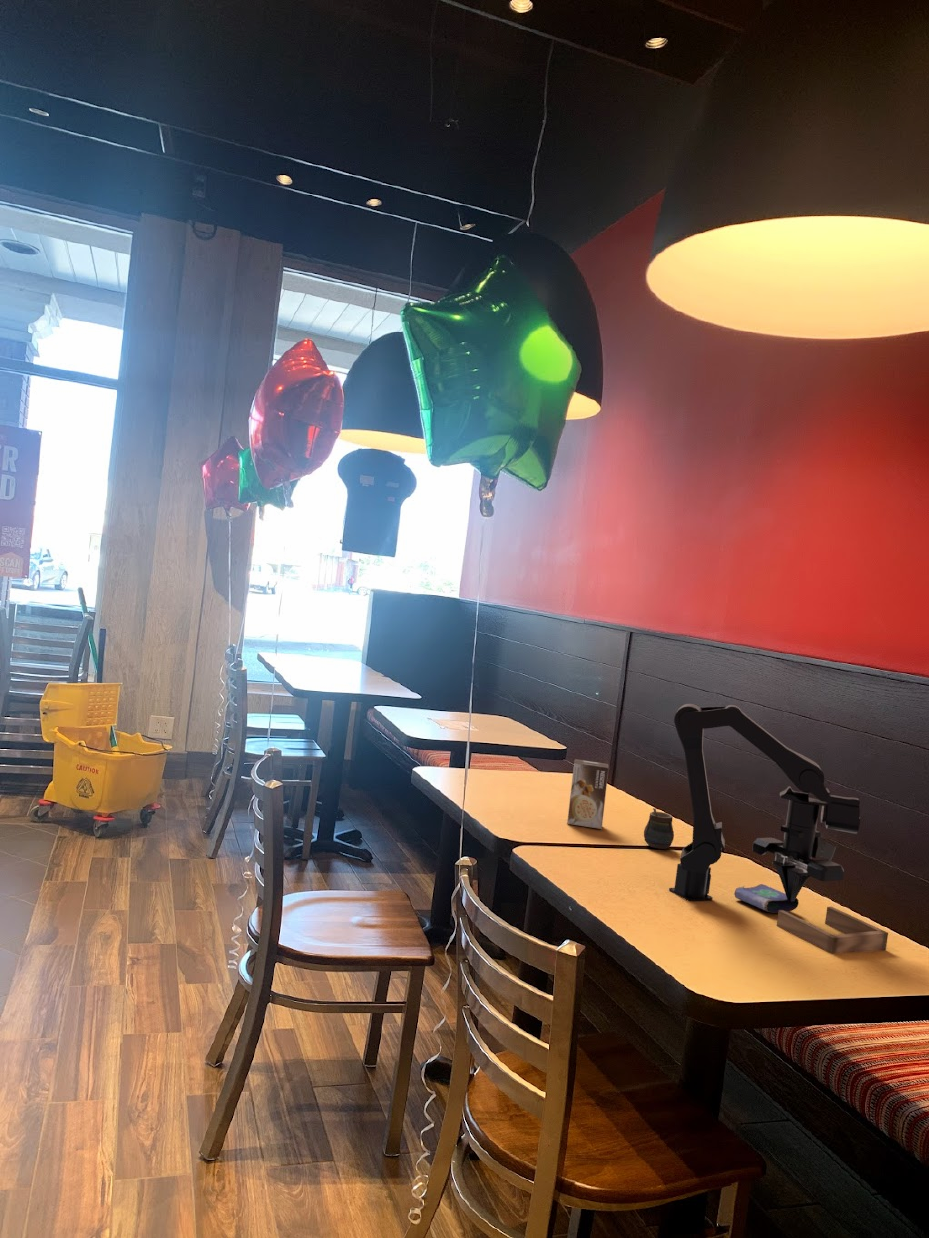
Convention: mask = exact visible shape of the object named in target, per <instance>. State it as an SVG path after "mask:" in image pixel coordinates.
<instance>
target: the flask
mask: <svg viewBox="0 0 929 1238" xmlns="http://www.w3.org/2000/svg"><path fill="white" fill-rule="evenodd" d="M733 895H734V897H735V898H736V899H737V900H740V901H743V902H745V903H747V904H749V905H751V906H754V907H756V908H758V909H760V910H762V911H765V912H767V913H772V914H778V911H779V910H784V911H786V912H788V913H790V912H793V911H794V910H796V909H797V908H798V907H799V899H798V898H797V897H796V899H795V901H789V900H787V897H786V894H785V892H783V891H780V890H778V889H775V888H773V887H770V886H768V885H765V884H763V883H761V884H758V885H756V886H753V887H745V885H742V886H740V887H737V888H735V890H734V893H733Z"/></svg>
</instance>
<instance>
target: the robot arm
mask: <svg viewBox="0 0 929 1238" xmlns="http://www.w3.org/2000/svg"><path fill="white" fill-rule="evenodd" d="M673 723H674V726H675V730H676V732H677V735H678V738H679V742H680V743H681V746H682V749H683V752H684V758H685V765H686V774H687V780H688V788H689V792H690V793H689V794H690V801H691V808H692V816H693V822H692V825H693V826H692V842H691V843H689V844H687V845H686V846H684V847H683V848H682V849H681V852H680V853H681V855H680V859H679V862H680V863H677V867H676V873H675V882H674V887H669V888H668V891H669V892H671V893H672V894H674V893H675V895H676V896H678V897H681V898H682V897H683V898H685V899H686V900H685V899H684V900H685V901H687V900H688V901H687V902H698V901H699V902H701V901H712V900H713V899H714V898H713V896H711V895H709V894H710V889H711V888H710V886H711V880H712V874H711V872H712V871H711V870H712V868H711V867H710V866H711V865H714V864H715V863H717V862H718V861H719V860H720V859H721V856H722V849H723V850H724V849H725V845H726V844H725V841H726V840H725V838H724V836H723V831H722V830H723V822H722V821H720V822H716V821H715V818H714V817H713V813H712V805H711V798H710V791H709V784H708V778H707V777H708V776H707V769H706V763H705V753H704V750H703V749H704V747H703V745H704V730H707V729H714V728H722V727H731V728H732V729H733V730H734V731H735V732H736V733H738V734H739V735H740V736H742V737H743V738H744V739H746V740H747V741H748V742H749V743H750V744H752V745H753V746H754V747H756V749H758V750H759V751H760V752H761V753H762V754H764V755H765V756H767V757H768V758H769V759H771V760H772V761H773V762H774V763H775V764H776V765H777V766H778V767H779V768H780V770H781V771H782V772H783V773H784V774H785V775H786V777H787V778H788V779H789V780H790V781H791V782H792V784H794V786H795V787H796V788H797V789H798V790H799V791H796V790H794V789H792V787H791V786H790V785H789V786H787V788H786V789H784V790H782V791H781V792H779V796H780V799H782V800H786V801H788V808H787V814H786V819H785V820H786V821H785V825H780V829H779V830H780V832H784V833H783V834H784V835H783V841H782V840H780V839H778V838H774V837H757V838H756V839H755V840H754V841H753V843H752V850H751V851H752V852H753V853H755V854H757V855H759V856H764V855H765V854H767V853H768V852H769V853H771V854H773V855H775V858H774V860H773V861H772V865H774V867H775V869H776V872H777V874H778V876H779V878H780V881H781V884H782V887H783V890H784V893H785V894H786V897H787V900H789V901H795V899H796V898H797V897H798V896H799V893H800V892H801V890H802V889H803V886H804V885H805V883H806V882H807V881H808V879H809V878H810V877H811V878H813V879H816V880H818V881H821V882H836V881H837V882H838V881H843V880H844V875H845V870H844V868H843V866H842V864H839V863H836V862H834V861H832V858H833V857H834V854H835V851H836V849H837V847H836V846H834V845H833V844H830V843H829V842H827V841H824V840H821V837H822V835H821V831H818V830H817V828H818V827H817V824H818V819H819V812H820V811H819V809H820V806H821V813H820V823H823V824H824V826H825V829H827V830H832V831H834V830H835V831H840V832H844V833H845V832H846V833H850V834H858V833H859V829H860V824H861V817H860V816H861V814H860V813H861V812H860V811H861V810H860V809H861V807H860V806H861V800H860V799H859V798H857V797H852V796H850V797H846V796H841V795H840V796H839V795H834V794H831V792H830V790H829V788H827V787H826V786H825V785H824V782H825V773H824V772H823V770H822V769H821V766H819V764H818V763H817V762H815V761H814V760H812V759H810V758H809V757H806V756H805V755H803V754H802V753H799V752H797V751H795V750H793V749H791V748H789V747H788V746H786V745H784V743H782V742H781V741H779V739H777V738H776V737H775V736H773V735H772V734H771V733H770V732H768V731H767V730H766V729H765V728H763V727H762V726H761V725H760V724H758V723H757V722H756V721H755V720H753V719H752V718H751V717H749V716H748V715H747V714H746V713H745V712H744V711H743V710H741V708H740V707H739V706H737V705H734V704H729V705H726V706H725V705H724V706H703V707H700V706H698V705H696V704H694V703H685V704H682V706H680V707H679V708H678V709H677V711H676V713H675V714H674V719H673ZM809 793H811V794H812V795H813V796H814V797H815V798H813V797H812V798H811V797H809V796H810V795H809ZM813 858H814V859H813ZM821 858H823V859H821ZM683 898H682V899H683Z"/></svg>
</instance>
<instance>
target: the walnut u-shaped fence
mask: <svg viewBox="0 0 929 1238" xmlns="http://www.w3.org/2000/svg"><path fill="white" fill-rule="evenodd" d="M825 913H826V914H825V921H824V925H826V926H827V927H831V928H833V929H834V930H837V931H839V932H841V933H840V934H833V933H830V932H828V931H826V930H824V929H822V928H820V927H817V926H816V925H815V924H814V925H813V924H812V923H810V922H808V921H806V920H804V919H801V918H800V917H798V916H796V915H793V914H792V913H790V912H786V911H784V910H779V911H778V913H777V919H776V927H778V928H780V929H782V930H784V931H785V932H788V933H790V934H792V935H794V936H796V937H798V938H800V939H801V940H803V941H805V942H807V943H810V944H812V945H814V946H815V947H817V948H820V949H821V950H823V951H825V952H828V954H831V955H832V954H851V953H865V952H867V953H868V952H882V951H886V950H887V944H888V939H889V938H888V937H889V932H887V931H885V930H883V929H881V928H879V927H877V926H874V925H872V924H870V923H867V922H865V921H864V920H861V919H859V918H858V917H855V916H853V915H851V914H848V913H846V912H844V911H843V910H839V909H838V908H835V907H833V906H827V908H826V912H825Z"/></svg>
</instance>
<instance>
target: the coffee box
mask: <svg viewBox="0 0 929 1238" xmlns="http://www.w3.org/2000/svg"><path fill="white" fill-rule="evenodd" d="M609 767H610V766H609V764H608V763H603V762H598V761H591V760H590V761H589V760H586V759H577V758H575V759H574V761H573V768H572V769H573V770H572V779H571V787H570V796H569V803H568V804H569V805H568V810H567V811H568V814H567V823H566V824H567V825H573V826H581V827H587V828H593V829H599V830H600V829H601V830H602V829H603V823H604V821H603V820H604V812H605V804H606V803H605V802H606V795H607V794H606V793H607V784H608V776H609Z"/></svg>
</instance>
